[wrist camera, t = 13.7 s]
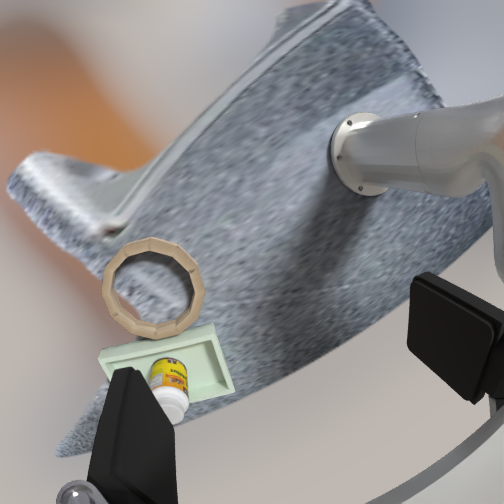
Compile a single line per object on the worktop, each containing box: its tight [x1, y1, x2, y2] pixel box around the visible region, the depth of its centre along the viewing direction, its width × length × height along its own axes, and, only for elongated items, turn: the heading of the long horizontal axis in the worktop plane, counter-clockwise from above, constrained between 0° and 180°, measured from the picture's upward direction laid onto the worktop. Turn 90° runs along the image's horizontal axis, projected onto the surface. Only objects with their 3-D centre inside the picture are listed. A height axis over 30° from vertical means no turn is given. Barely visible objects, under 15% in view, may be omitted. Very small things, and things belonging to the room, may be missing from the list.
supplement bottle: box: [149, 356, 189, 424], centre depth 36 cm, size 6×6×10 cm
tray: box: [98, 323, 235, 403], centre depth 40 cm, size 18×12×3 cm, turn 102°
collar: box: [102, 237, 205, 340], centre depth 36 cm, size 13×13×2 cm
